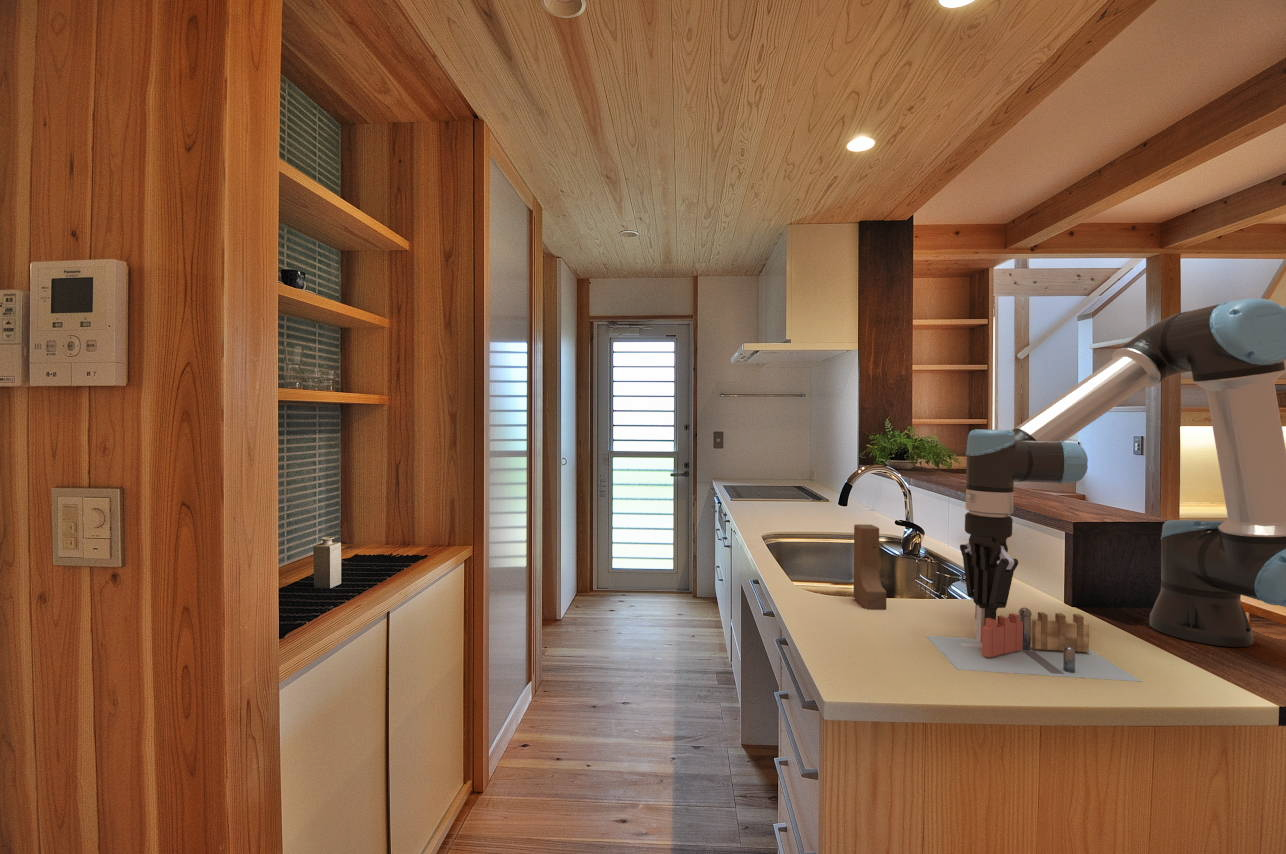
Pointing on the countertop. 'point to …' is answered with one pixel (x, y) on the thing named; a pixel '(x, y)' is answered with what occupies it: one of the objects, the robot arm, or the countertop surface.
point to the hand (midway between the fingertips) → (984, 641)
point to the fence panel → (1002, 635)
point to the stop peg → (1069, 659)
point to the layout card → (1027, 661)
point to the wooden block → (867, 568)
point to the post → (1026, 627)
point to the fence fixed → (1060, 633)
